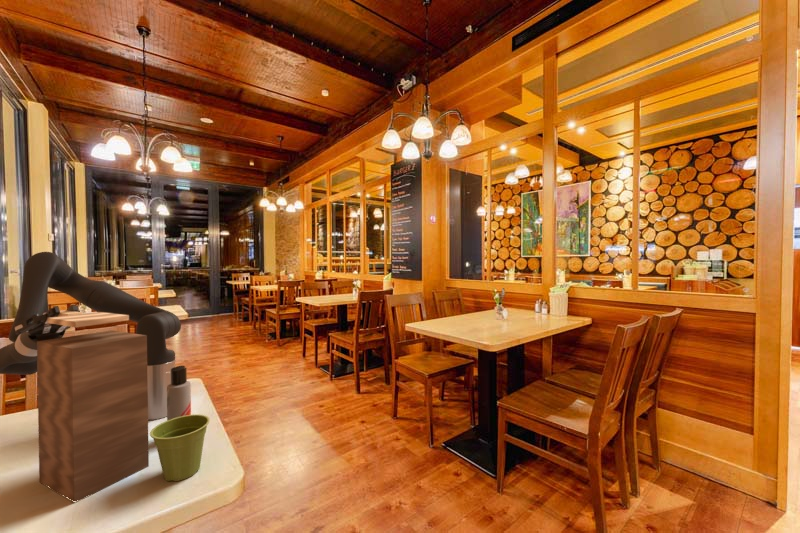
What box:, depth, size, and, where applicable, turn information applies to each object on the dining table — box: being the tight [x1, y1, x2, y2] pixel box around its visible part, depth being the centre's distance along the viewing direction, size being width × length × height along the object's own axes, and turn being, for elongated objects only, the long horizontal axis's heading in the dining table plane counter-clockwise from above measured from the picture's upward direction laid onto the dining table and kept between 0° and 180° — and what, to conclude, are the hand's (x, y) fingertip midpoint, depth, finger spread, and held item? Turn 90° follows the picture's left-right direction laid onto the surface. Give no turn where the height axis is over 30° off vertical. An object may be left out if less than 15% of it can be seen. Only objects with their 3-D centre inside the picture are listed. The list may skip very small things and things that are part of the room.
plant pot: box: [149, 414, 210, 482], centre depth 80 cm, size 12×12×11 cm
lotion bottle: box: [166, 365, 192, 421], centre depth 97 cm, size 6×6×20 cm
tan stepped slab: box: [47, 309, 130, 328], centre depth 83 cm, size 23×10×2 cm, turn 65°
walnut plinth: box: [37, 329, 150, 501], centre depth 80 cm, size 16×14×32 cm
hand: (66, 308), depth 85 cm, fingers closed on tan stepped slab, 2 cm apart
